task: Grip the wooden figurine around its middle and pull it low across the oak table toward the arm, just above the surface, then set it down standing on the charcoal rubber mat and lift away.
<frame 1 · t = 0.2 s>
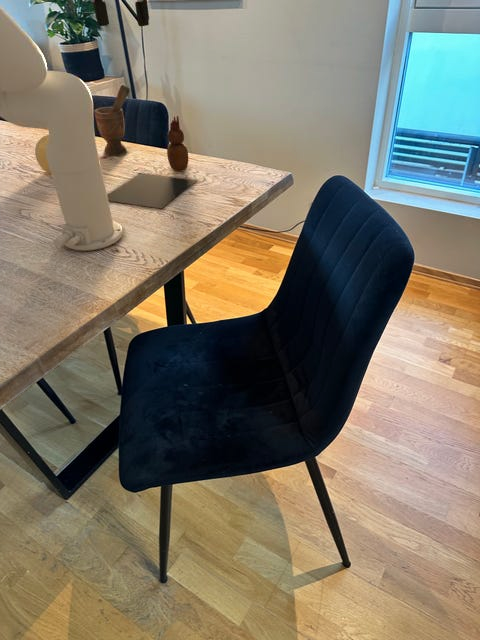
hand: (123, 25, 89), 37 cm above the table, tool pointing down, fingers open, 9 cm apart
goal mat: (150, 190, 114), on the table
mortar and pestle: (121, 153, 141), on the table
sculpture: (62, 171, 128), on the table
wooden figurine: (179, 170, 127), on the table
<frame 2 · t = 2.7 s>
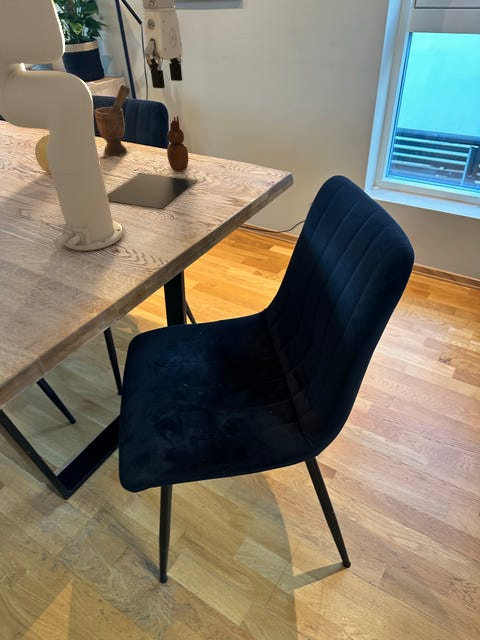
hand: (168, 84, 112), 23 cm above the table, tool pointing down, fingers open, 9 cm apart
nothing on the table moved.
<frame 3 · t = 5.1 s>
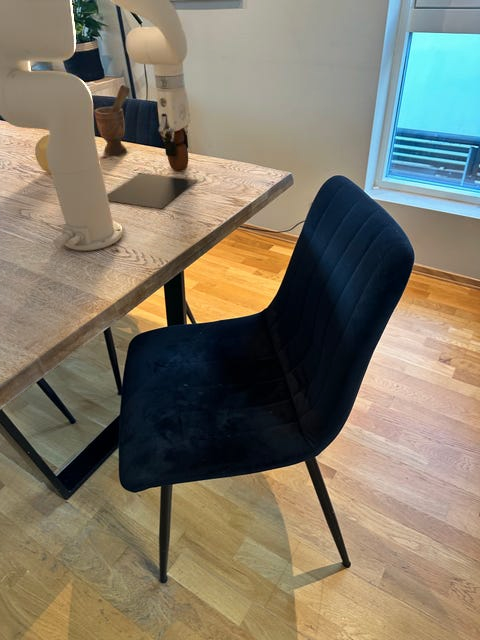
hand: (177, 151, 124), 5 cm above the table, tool pointing down, fingers closed on wooden figurine, 6 cm apart
wooden figurine: (179, 170, 127), on the table, touching gripper
everything else where it was.
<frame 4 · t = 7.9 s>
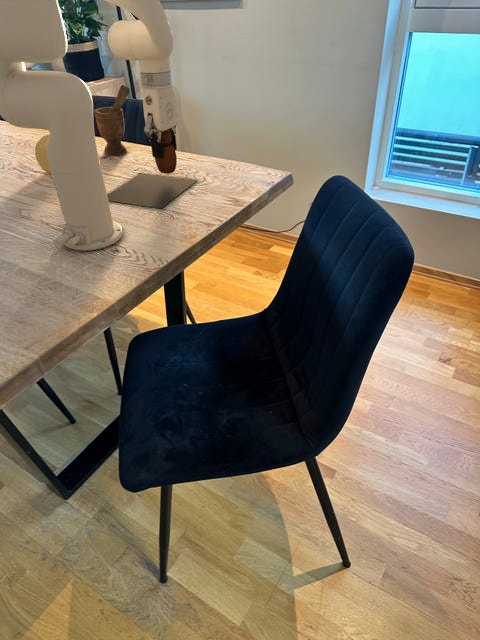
hand: (165, 152, 117), 7 cm above the table, tool pointing down, fingers closed on wooden figurine, 6 cm apart
wooden figurine: (167, 172, 121), point 1 cm above the table, touching gripper
everything else where it was.
when the fingers open (5 cm above the table, at t = 10.9 s): wooden figurine stays where it is, resting on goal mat.
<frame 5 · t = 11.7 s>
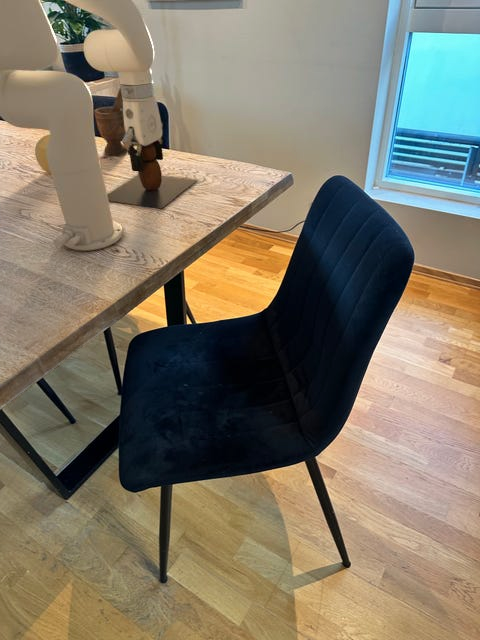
hand: (148, 165, 111), 6 cm above the table, tool pointing down, fingers open, 9 cm apart
wooden figurine: (152, 188, 115), resting on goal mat
everything else where it was.
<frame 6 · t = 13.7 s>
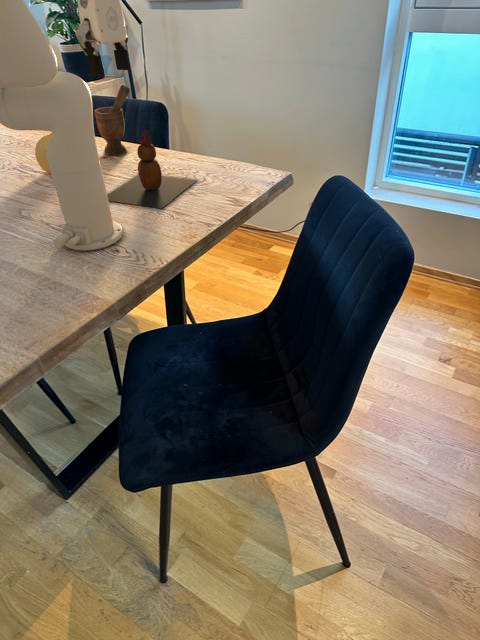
hand: (110, 72, 98), 27 cm above the table, tool pointing down, fingers open, 9 cm apart
nothing on the table moved.
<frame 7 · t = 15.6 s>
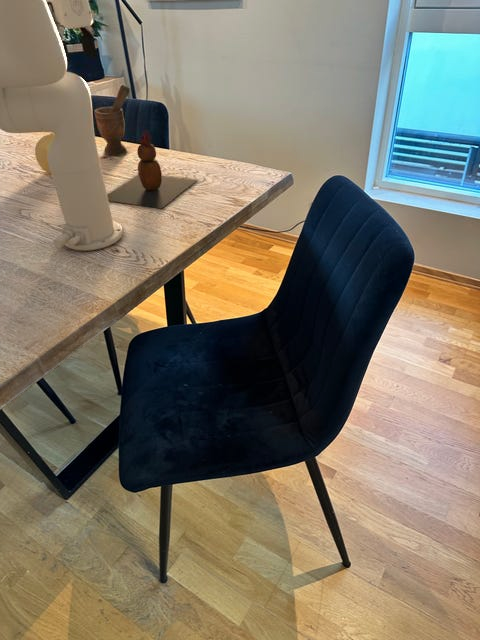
hand: (77, 58, 97), 30 cm above the table, tool pointing down, fingers open, 9 cm apart
nothing on the table moved.
at the end: wooden figurine inside the target area (0.5 cm from its centre), resting on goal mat; wooden figurine tilted 0°; wooden figurine moved 16.0 cm from its start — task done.
